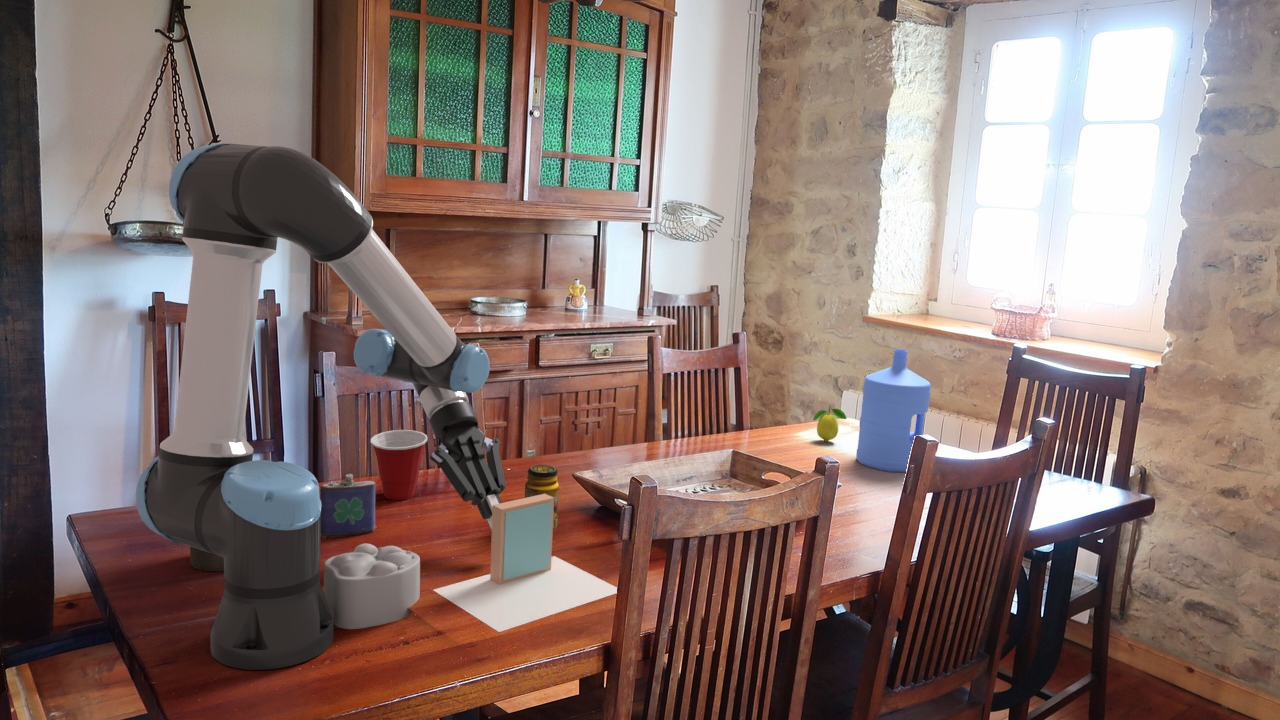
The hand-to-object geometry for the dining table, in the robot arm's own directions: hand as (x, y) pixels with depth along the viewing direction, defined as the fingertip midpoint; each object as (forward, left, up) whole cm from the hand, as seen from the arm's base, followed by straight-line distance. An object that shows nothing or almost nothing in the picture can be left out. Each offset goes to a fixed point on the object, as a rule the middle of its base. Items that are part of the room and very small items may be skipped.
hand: (502, 533), depth 153 cm
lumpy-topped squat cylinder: (-24, -2, -6) cm, 24 cm away
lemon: (+117, +20, -6) cm, 119 cm away
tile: (-1, -6, -4) cm, 8 cm away
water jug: (+113, -1, -6) cm, 113 cm away
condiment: (+14, +10, -6) cm, 18 cm away
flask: (-13, +28, -6) cm, 31 cm away
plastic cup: (+4, +41, -6) cm, 41 cm away
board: (-3, -12, -6) cm, 14 cm away
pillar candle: (-34, +28, -6) cm, 44 cm away
